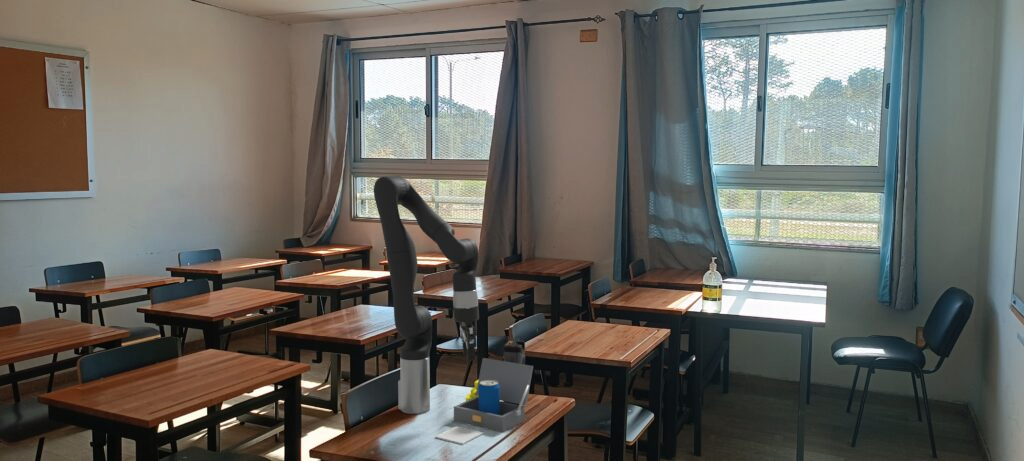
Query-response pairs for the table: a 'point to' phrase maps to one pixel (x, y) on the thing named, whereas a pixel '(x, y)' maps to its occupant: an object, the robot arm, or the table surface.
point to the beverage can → (489, 397)
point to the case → (512, 389)
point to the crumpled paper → (472, 392)
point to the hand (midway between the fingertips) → (469, 357)
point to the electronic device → (514, 353)
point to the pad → (459, 435)
